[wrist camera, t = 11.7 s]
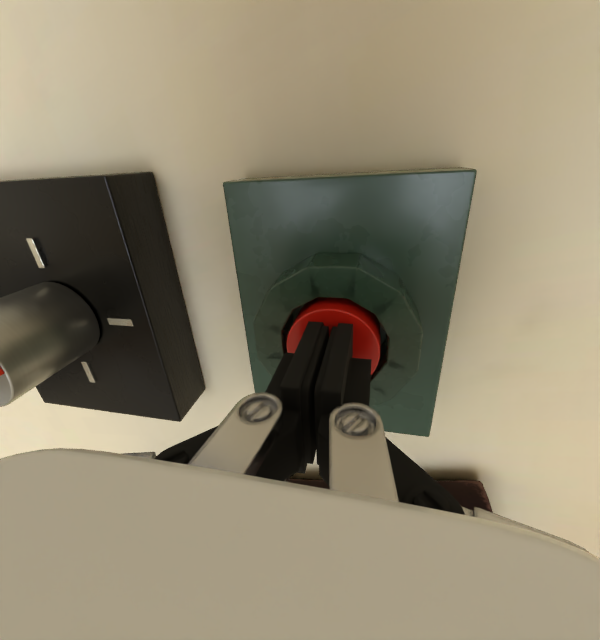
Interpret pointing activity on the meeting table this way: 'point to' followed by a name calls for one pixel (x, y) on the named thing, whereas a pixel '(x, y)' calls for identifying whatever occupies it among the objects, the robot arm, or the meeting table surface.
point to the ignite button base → (356, 269)
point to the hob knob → (41, 335)
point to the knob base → (106, 288)
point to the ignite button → (340, 312)
